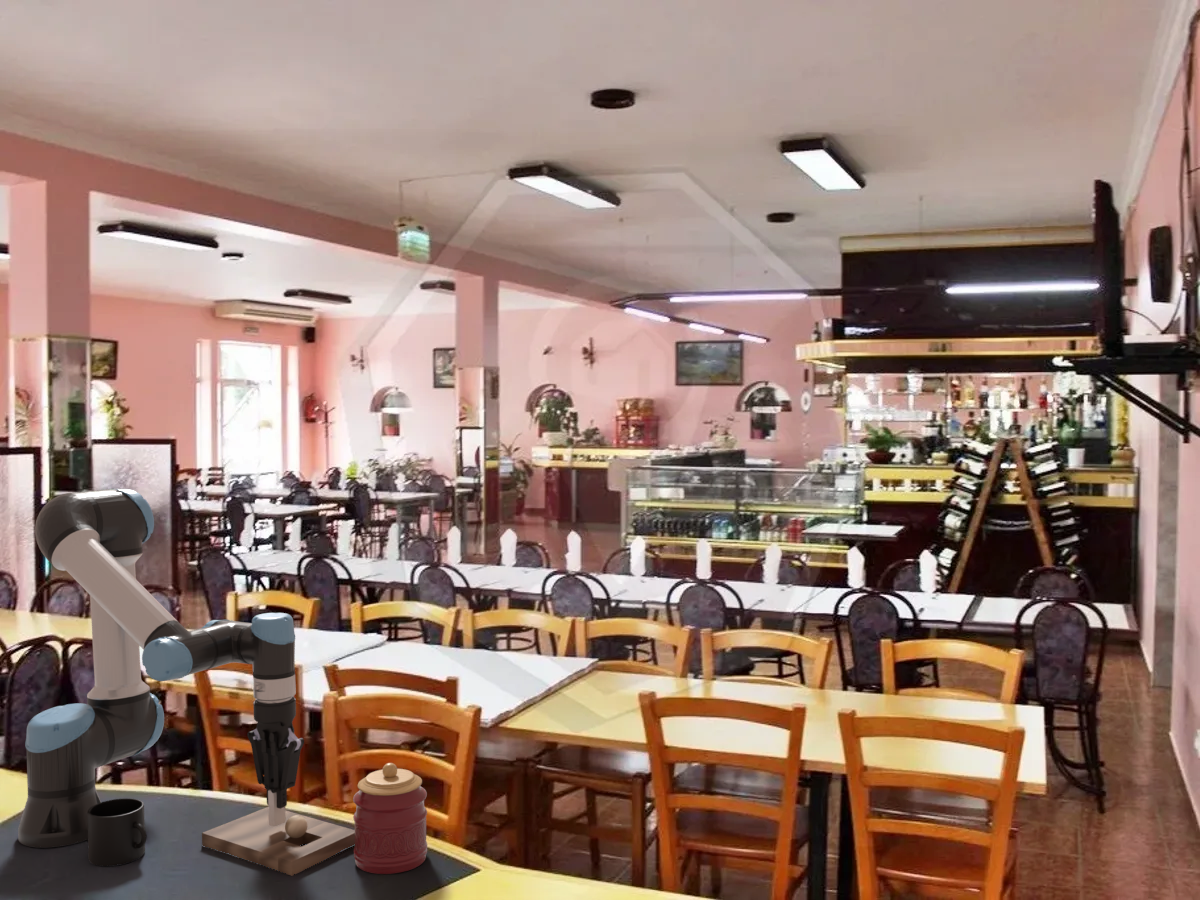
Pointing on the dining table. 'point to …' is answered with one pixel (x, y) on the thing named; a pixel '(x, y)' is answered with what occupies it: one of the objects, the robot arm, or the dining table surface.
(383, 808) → the canister
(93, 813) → the mug
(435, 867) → the dining table surface
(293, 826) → the ball
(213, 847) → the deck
